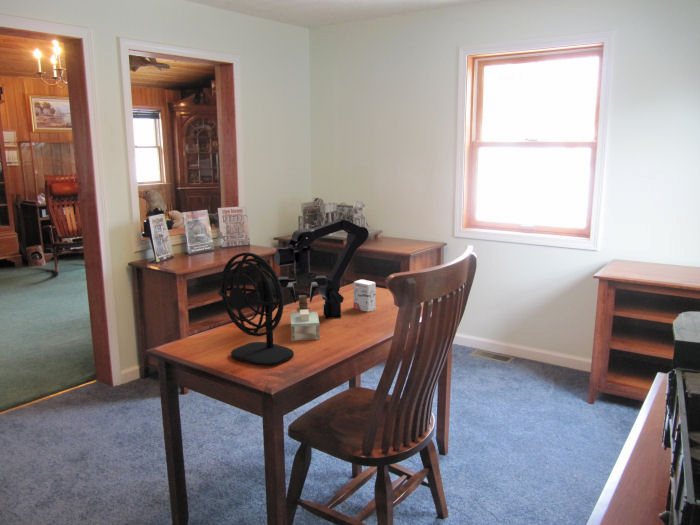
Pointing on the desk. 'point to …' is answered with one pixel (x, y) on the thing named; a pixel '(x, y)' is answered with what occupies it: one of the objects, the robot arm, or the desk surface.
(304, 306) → the brown l-shaped block
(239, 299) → the desk fan
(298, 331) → the beige piece
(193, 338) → the desk surface
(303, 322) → the lid
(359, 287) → the ink box
